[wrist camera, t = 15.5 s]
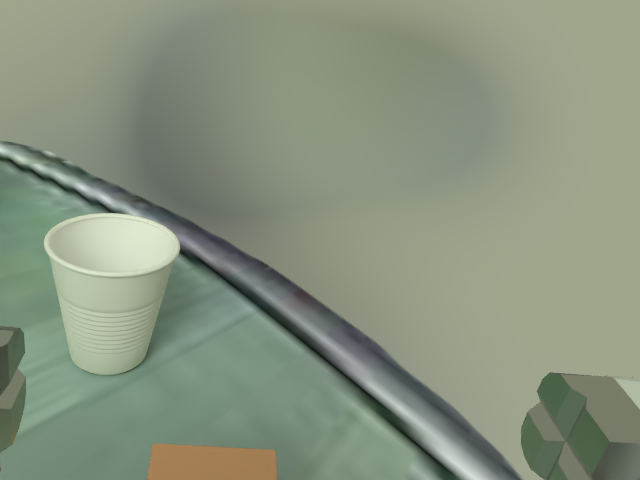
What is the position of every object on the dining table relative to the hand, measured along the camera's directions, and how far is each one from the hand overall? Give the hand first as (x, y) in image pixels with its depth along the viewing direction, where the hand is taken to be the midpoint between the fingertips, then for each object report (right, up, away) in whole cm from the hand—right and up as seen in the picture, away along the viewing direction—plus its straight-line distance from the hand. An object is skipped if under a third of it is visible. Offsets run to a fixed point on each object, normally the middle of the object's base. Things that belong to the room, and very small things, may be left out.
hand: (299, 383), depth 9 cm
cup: (-18, -8, +42) cm, 46 cm away
